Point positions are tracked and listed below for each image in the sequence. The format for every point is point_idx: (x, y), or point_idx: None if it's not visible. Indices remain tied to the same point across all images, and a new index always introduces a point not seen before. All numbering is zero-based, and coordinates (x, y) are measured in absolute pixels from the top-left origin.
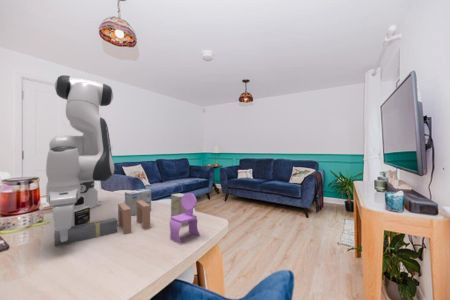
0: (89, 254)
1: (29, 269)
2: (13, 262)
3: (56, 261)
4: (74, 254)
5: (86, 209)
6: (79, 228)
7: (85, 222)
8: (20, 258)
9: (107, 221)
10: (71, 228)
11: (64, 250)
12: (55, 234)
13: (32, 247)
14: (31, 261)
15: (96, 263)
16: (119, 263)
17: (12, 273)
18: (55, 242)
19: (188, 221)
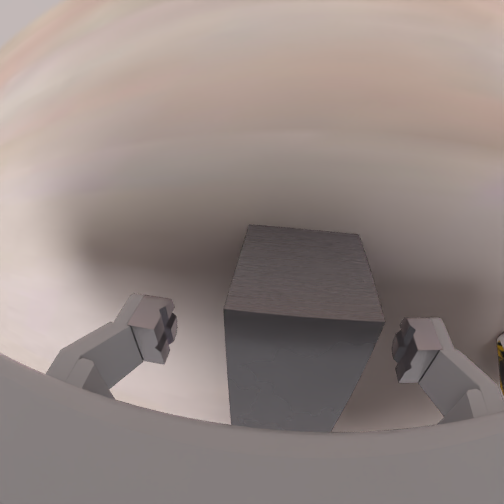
0: (58, 327)
1: (4, 131)
2: (124, 3)
3: (31, 229)
4: (71, 293)
5: None
6: (232, 420)
7: (502, 382)
8: (167, 22)
9: None
10: (267, 403)
11: (138, 268)
12: (229, 302)
13: (384, 79)
14: (72, 110)
15: (7, 318)
16: (7, 346)
17: (3, 70)
18: (241, 250)
19: None
